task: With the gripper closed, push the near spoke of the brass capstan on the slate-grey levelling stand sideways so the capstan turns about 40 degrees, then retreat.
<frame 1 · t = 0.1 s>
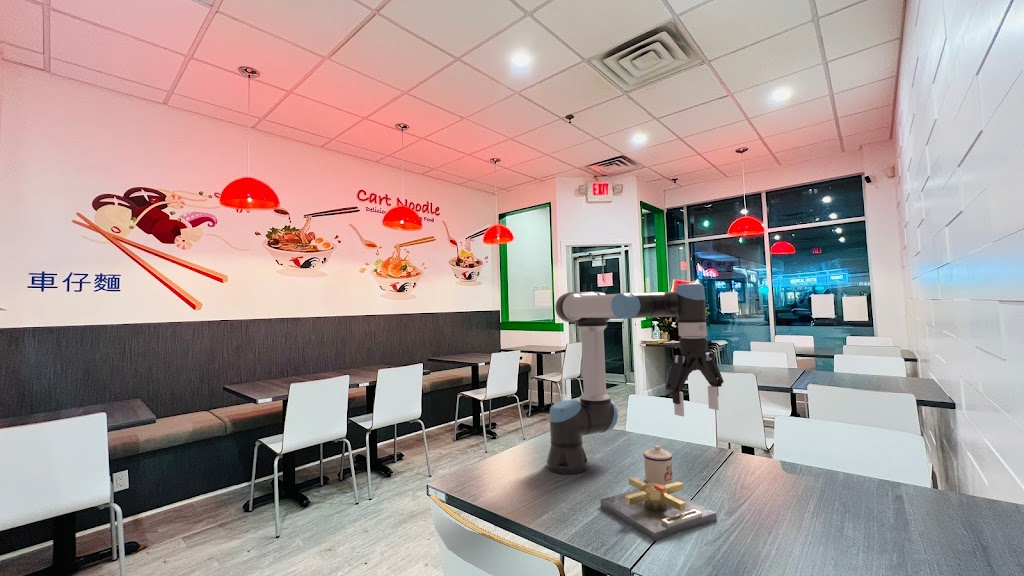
hand: (696, 412, 123), 28 cm above the table, fingers open, 13 cm apart
teacup with lid: (659, 480, 145), on the table
stand: (656, 513, 122), on the table
capstan: (655, 494, 123), point 5 cm above the table, hinge at 0.0°
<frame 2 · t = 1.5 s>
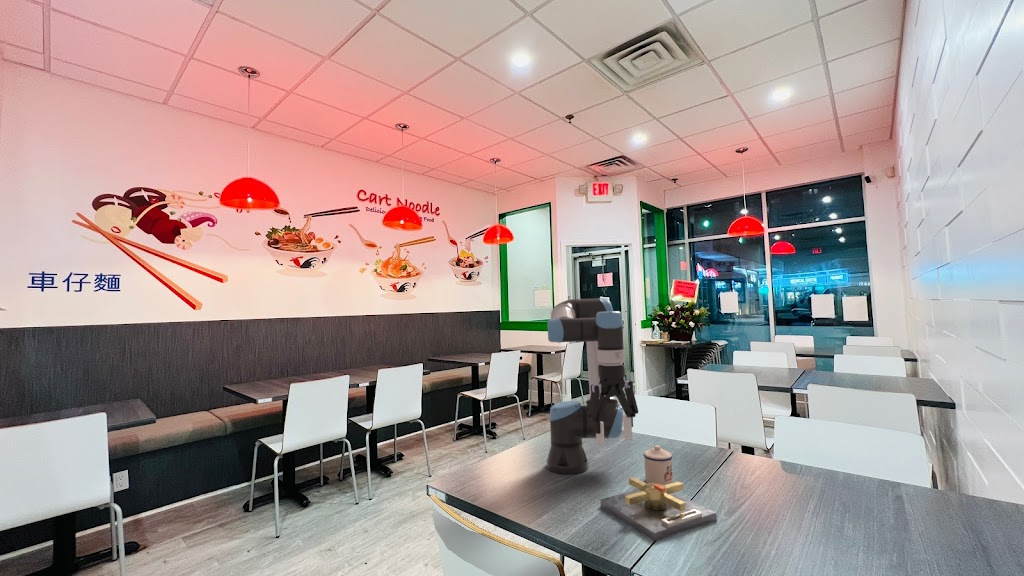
hand: (614, 441, 126), 20 cm above the table, fingers open, 9 cm apart
nothing on the table moved.
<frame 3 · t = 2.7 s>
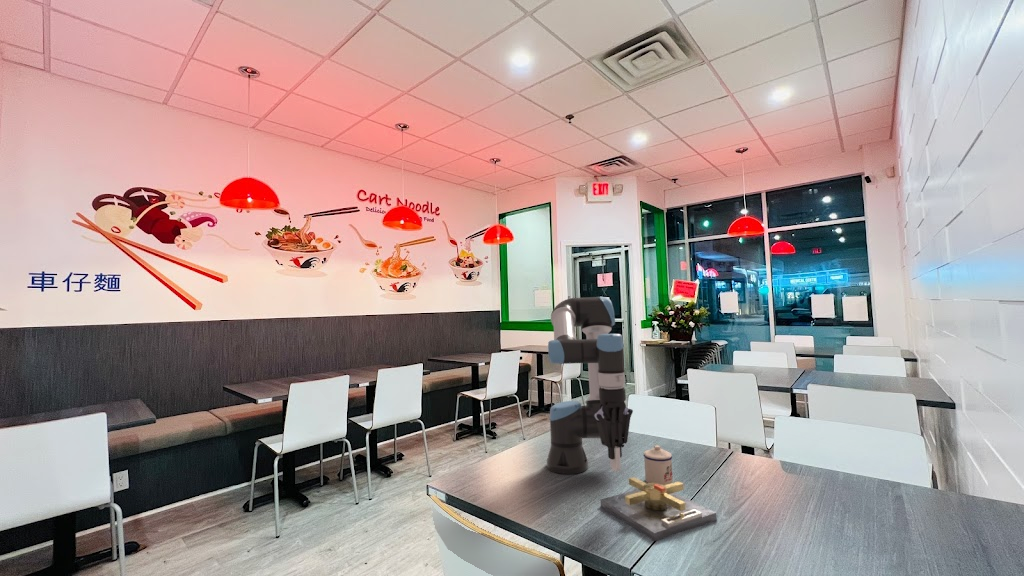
hand: (615, 469, 125), 12 cm above the table, fingers closed
nothing on the table moved.
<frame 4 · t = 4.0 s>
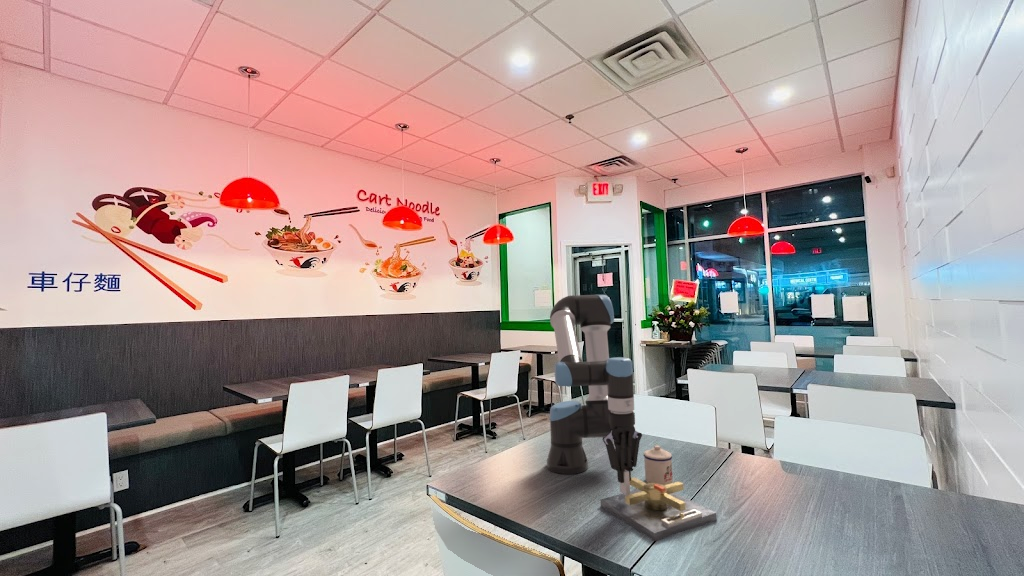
hand: (624, 492, 126), 4 cm above the table, fingers closed
nothing on the table moved.
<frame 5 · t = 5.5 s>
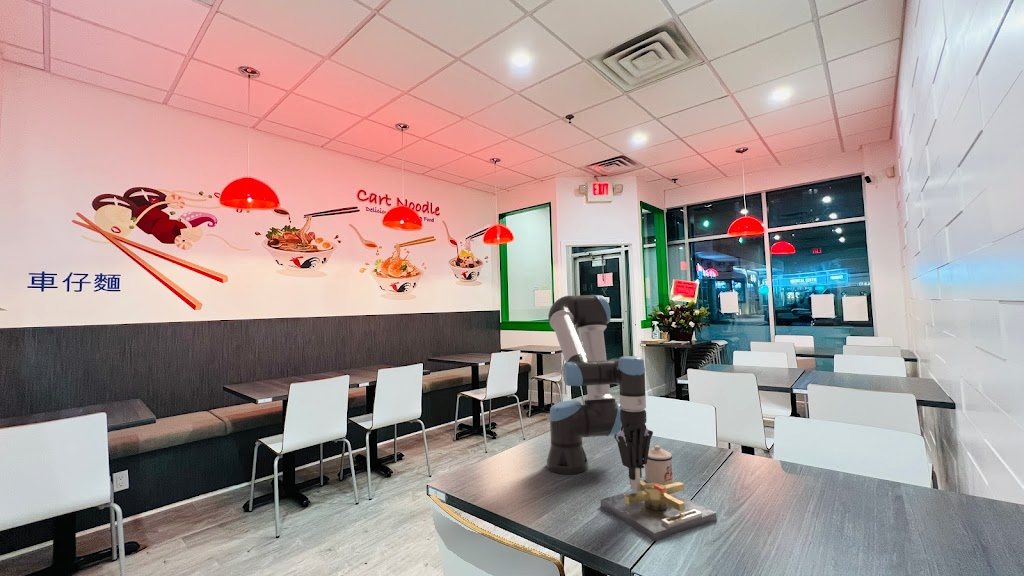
hand: (635, 489, 128), 4 cm above the table, fingers closed
capstan: (655, 494, 123), point 5 cm above the table, hinge at -1.4°, touching gripper
everything else where it was.
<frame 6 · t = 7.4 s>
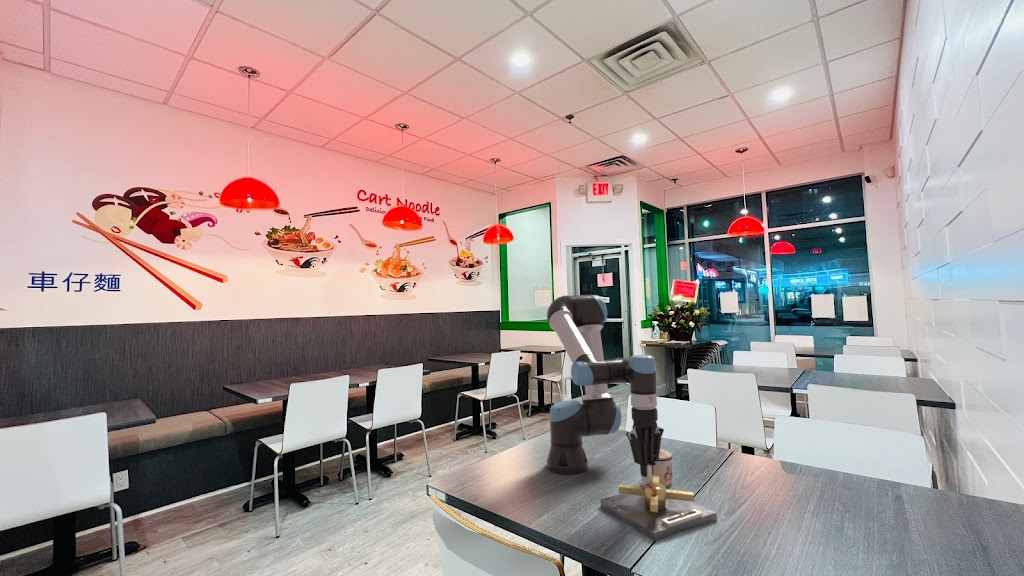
hand: (647, 486, 130), 4 cm above the table, fingers closed
capstan: (655, 494, 123), point 5 cm above the table, hinge at -45.6°, touching gripper
everything else where it was.
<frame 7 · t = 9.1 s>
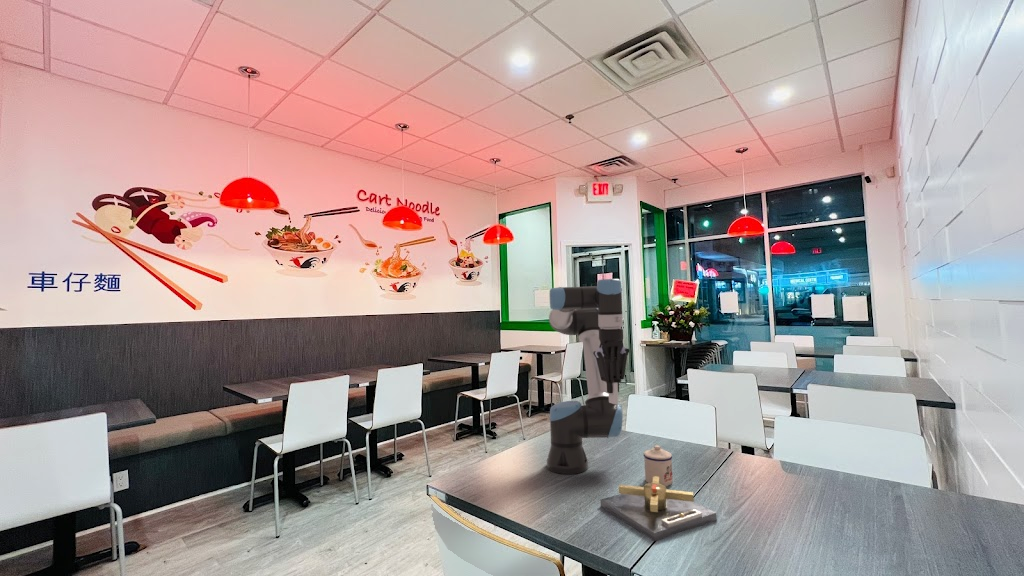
hand: (613, 402, 136), 28 cm above the table, fingers closed
capstan: (655, 494, 123), point 5 cm above the table, hinge at -45.6°
everything else where it was.
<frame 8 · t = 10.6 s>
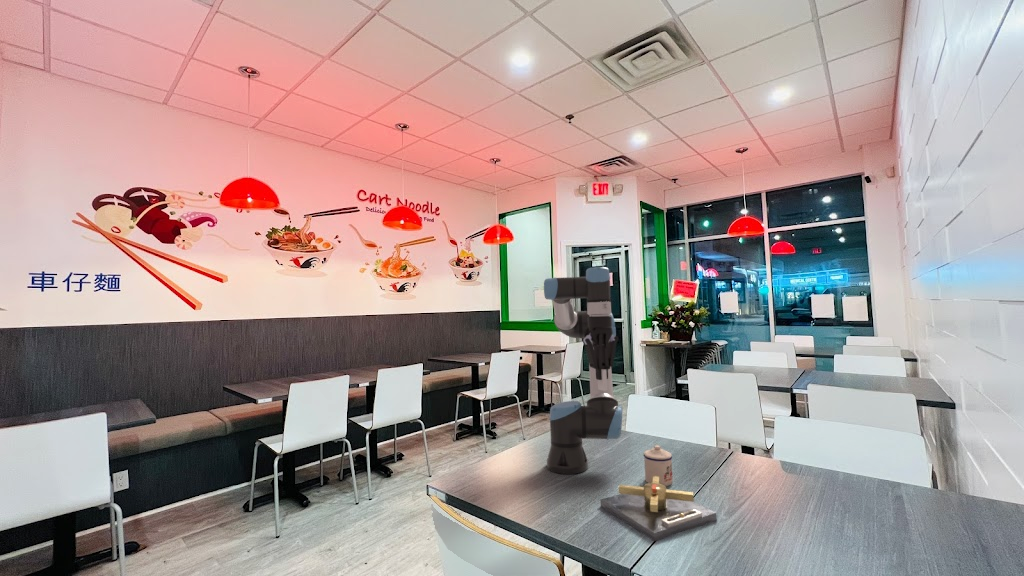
hand: (602, 389, 138), 32 cm above the table, fingers closed
nothing on the table moved.
at the end: capstan at -46° (first picture: +0°) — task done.
